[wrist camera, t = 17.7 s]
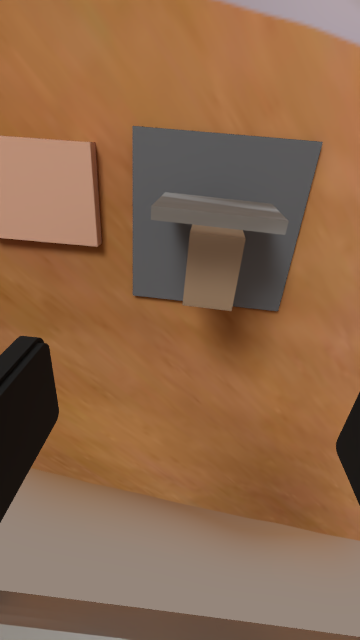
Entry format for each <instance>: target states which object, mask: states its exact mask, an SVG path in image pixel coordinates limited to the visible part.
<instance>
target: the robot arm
mask: <svg viewBox="0 0 360 640" xmlns="http://www.w3.org/2000/svg"><path fill="white" fill-rule="evenodd" d="M58 414H59V407H58V401H57V394H56V388H55V382H54V375H53V369H52V362H51V356H50V349H49V346H48V344H46V343H44V341H43V340H42V339H41V338H37V337H27V336H20V337H18V338H17V339H16V340H15V341H14V342H13V343H12V344H11V345H10V346H9V347H8V348H7V349H6V350H5V351H4V352H3V353H2V354H1V355H0V522H1V520H2V519H3V517H4V515H5V513H6V511H7V510H8V508H9V506H10V504H11V502H12V501H13V499H14V497H15V495H16V493H17V491H18V489H19V488H20V486H21V484H22V482H23V480H24V479H25V477H26V475H27V473H28V472H29V470H30V468H31V466H32V464H33V463H34V461H35V459H36V457H37V455H38V454H39V452H40V450H41V448H42V446H43V445H44V443H45V441H46V439H47V437H48V436H49V434H50V432H51V430H52V428H53V427H54V425H55V423H56V421H57V418H58ZM336 450H337V454H338V456H339V459H340V461H341V463H342V466H343V468H344V470H345V473H346V475H347V477H348V479H349V482H350V484H351V486H352V489H353V491H354V493H355V496H356V498H357V500H358V503H359V505H360V393H359V395H358V397H357V399H356V401H355V403H354V405H353V407H352V410H351V412H350V414H349V416H348V418H347V420H346V422H345V425H344V427H343V429H342V431H341V433H340V435H339V437H338V439H337V442H336ZM0 640H360V637H355V636H348V635H340V634H333V633H326V632H318V631H311V630H304V629H297V628H288V627H281V626H274V625H266V624H259V623H251V622H243V621H235V620H228V619H221V618H213V617H205V616H198V615H189V614H182V613H175V612H167V611H159V610H152V609H144V608H136V607H128V606H120V605H112V604H103V603H96V602H88V601H80V600H72V599H64V598H56V597H48V596H41V595H33V594H24V593H17V592H9V591H0Z"/></svg>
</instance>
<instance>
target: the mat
mask: <svg viewBox="0 0 360 640" xmlns="http://www.w3.org/2000/svg"><path fill="white" fill-rule="evenodd" d="M321 146H322V142H317V141H305V140H294V139H282V138H270V137H258V136H246V135H234V134H222V133H210V132H198V131H187V130H175V129H163V128H151V127H139V126H133V295H134V296H143V297H153V298H162V299H171V300H180V301H183V295H184V286H185V276H186V267H187V257H188V247H189V238H190V231H191V227H192V224H184V223H175V222H166V221H157V220H151V206H152V205H153V204H154V203H155V202H156V201H157V200H158V199H159V198H160V197H161V196H162V195H163V194H164V193H165V192H169V193H178V194H187V195H196V196H205V197H214V198H224V199H233V200H242V201H251V202H260V203H269V204H273V205H274V206H275V207H276V209H277V210H278V211H279V212H280V213H281V214H282V215H283V216H284V217H285V218H286V219H287V220H288V221H289V222H288V226H287V230H286V234H285V235H281V234H273V233H264V232H255V231H246V230H243V233H244V236H245V239H246V240H245V245H244V250H243V255H242V260H241V266H240V271H239V276H238V281H237V286H236V291H235V296H234V301H233V306H235V307H244V308H253V309H262V310H271V311H278V309H279V306H280V302H281V298H282V294H283V290H284V287H285V283H286V279H287V275H288V271H289V268H290V264H291V260H292V256H293V253H294V249H295V245H296V241H297V237H298V234H299V230H300V226H301V222H302V218H303V215H304V211H305V207H306V203H307V199H308V196H309V192H310V188H311V184H312V180H313V177H314V173H315V169H316V165H317V161H318V158H319V154H320V150H321Z"/></svg>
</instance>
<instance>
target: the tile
mask: <svg viewBox="0 0 360 640" xmlns="http://www.w3.org/2000/svg"><path fill="white" fill-rule="evenodd" d="M0 238H6V239H17V240H29V241H40V242H51V243H62V244H73V245H85V246H96V247H98V246H99V245H100V244H101V243H102V238H101V223H100V207H99V192H98V177H97V161H96V146H95V142H82V141H68V140H54V139H41V138H27V137H13V136H0Z"/></svg>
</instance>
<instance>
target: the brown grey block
mask: <svg viewBox="0 0 360 640" xmlns="http://www.w3.org/2000/svg"><path fill="white" fill-rule="evenodd" d="M151 220H157V221H166V222H175V223H184V224H192V227H191V231H190V238H189V247H188V257H187V267H186V276H185V286H184V295H183V305H186V306H194V307H202V308H210V309H218V310H226V311H232V306H233V301H234V296H235V291H236V286H237V281H238V276H239V271H240V266H241V260H242V255H243V250H244V245H245V240H246V239H245V236H244V233H243V230H246V231H255V232H264V233H273V234H281V235H285V234H286V230H287V226H288V222H289V221H288V220H287V219H286V218H285V217H284V216H283V215H282V214H281V213H280V212H279V211H278V210H277V209H276V207H275V206H274V205H273V204H269V203H260V202H251V201H242V200H233V199H224V198H214V197H205V196H196V195H187V194H178V193H169V192H165V193H164V194H163V195H162V196H161V197H160V198H159V199H158V200H157V201H156V202H155V203H154V204H153V205H152V206H151Z"/></svg>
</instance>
